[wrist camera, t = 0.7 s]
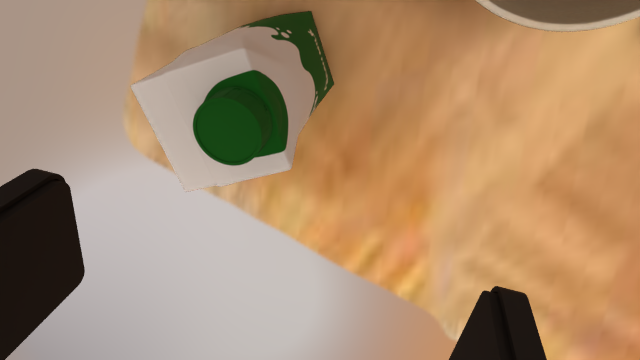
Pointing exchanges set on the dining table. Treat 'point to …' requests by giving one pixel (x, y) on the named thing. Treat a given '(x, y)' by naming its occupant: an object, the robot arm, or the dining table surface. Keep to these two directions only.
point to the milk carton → (237, 101)
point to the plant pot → (564, 13)
